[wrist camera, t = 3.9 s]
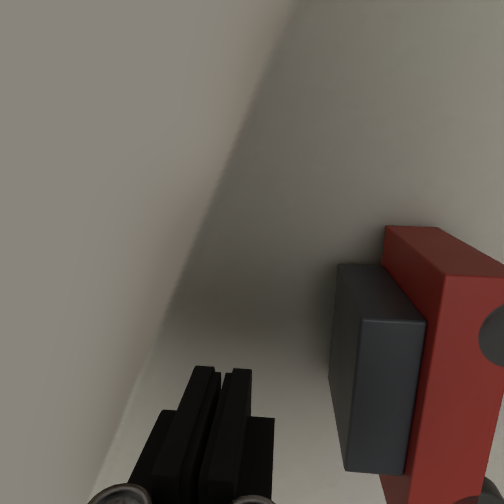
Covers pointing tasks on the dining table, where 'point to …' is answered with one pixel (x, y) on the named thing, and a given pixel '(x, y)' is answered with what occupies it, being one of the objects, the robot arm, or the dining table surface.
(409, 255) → the toy car
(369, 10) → the dining table surface
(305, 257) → the dining table surface
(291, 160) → the dining table surface
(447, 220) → the dining table surface
